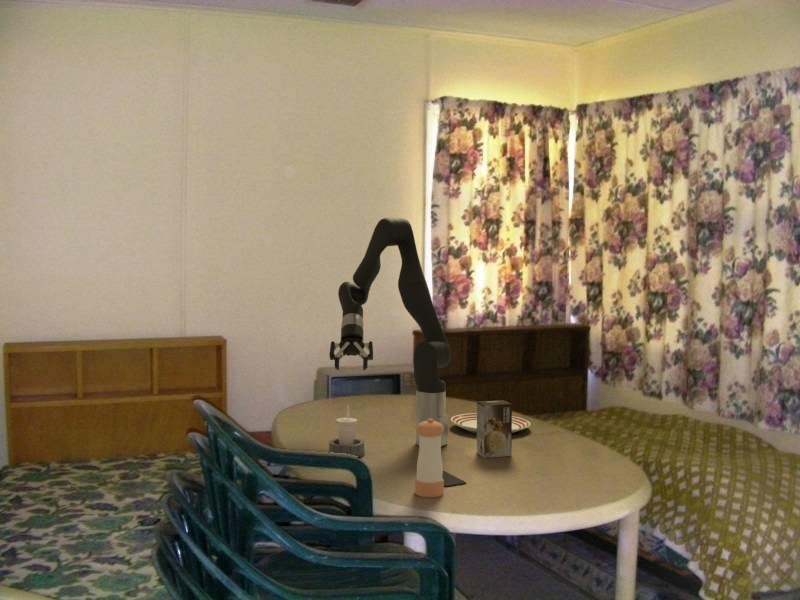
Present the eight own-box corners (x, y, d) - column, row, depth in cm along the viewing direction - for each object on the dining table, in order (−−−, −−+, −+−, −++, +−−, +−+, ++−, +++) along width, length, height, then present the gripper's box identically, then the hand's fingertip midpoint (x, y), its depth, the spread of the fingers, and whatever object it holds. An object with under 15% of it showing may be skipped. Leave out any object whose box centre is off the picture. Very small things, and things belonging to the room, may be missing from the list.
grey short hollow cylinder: (371, 452, 237) (371, 440, 237) (352, 461, 227) (352, 448, 227) (341, 447, 242) (341, 435, 242) (321, 455, 233) (321, 443, 232)
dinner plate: (494, 417, 289) (495, 408, 289) (547, 432, 266) (547, 423, 266) (434, 426, 274) (434, 416, 274) (484, 443, 251) (484, 432, 251)
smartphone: (444, 486, 203) (415, 470, 216) (444, 489, 203) (415, 473, 216) (468, 482, 207) (438, 467, 220) (468, 486, 207) (438, 470, 220)
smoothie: (348, 455, 231) (349, 408, 230) (331, 452, 234) (331, 406, 233) (361, 450, 236) (361, 404, 235) (344, 447, 239) (344, 402, 238)
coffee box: (503, 451, 241) (504, 399, 240) (512, 456, 235) (513, 403, 234) (475, 452, 238) (476, 400, 237) (483, 458, 232) (484, 405, 231)
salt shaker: (449, 493, 199) (450, 418, 198) (430, 499, 194) (431, 423, 193) (428, 486, 204) (429, 414, 203) (409, 492, 199) (410, 418, 198)
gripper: (330, 322, 260) (328, 361, 249) (373, 322, 260) (373, 361, 250) (331, 337, 266) (329, 375, 255) (373, 336, 266) (373, 375, 255)
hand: (351, 368), depth 252 cm, fingers open, 8 cm apart
